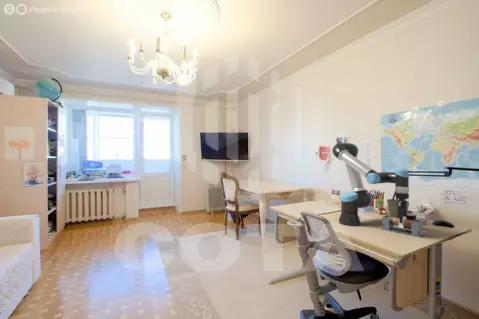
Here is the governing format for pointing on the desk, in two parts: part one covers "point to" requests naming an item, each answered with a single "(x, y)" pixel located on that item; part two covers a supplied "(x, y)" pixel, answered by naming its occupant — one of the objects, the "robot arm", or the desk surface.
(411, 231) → the bracket
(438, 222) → the desk surface
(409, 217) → the coffee mug
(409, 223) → the wooden cylinder
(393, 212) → the plant pot
